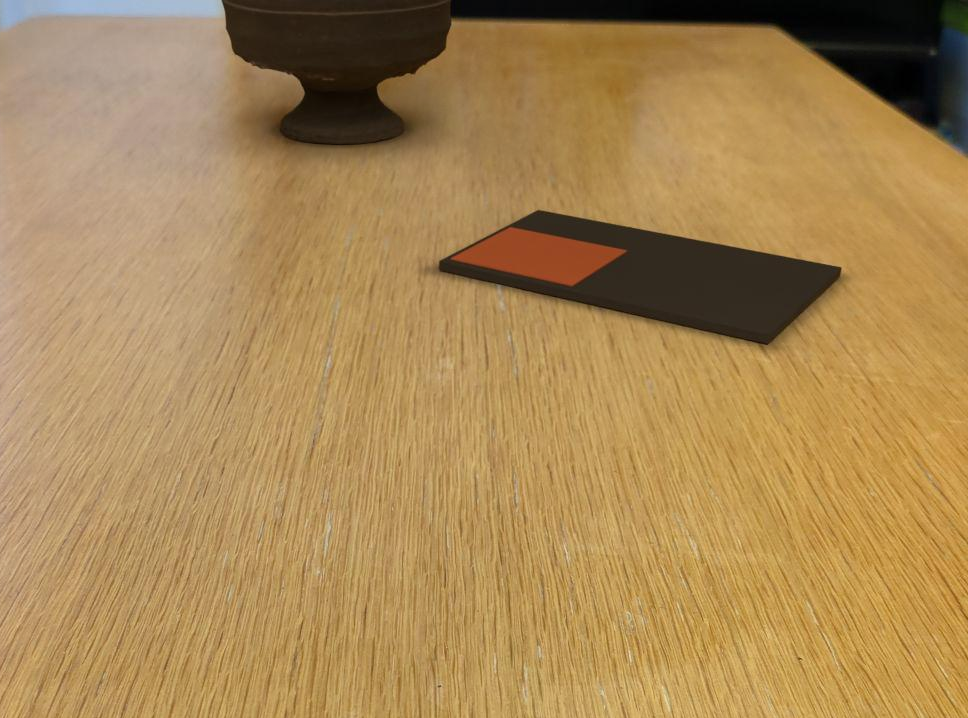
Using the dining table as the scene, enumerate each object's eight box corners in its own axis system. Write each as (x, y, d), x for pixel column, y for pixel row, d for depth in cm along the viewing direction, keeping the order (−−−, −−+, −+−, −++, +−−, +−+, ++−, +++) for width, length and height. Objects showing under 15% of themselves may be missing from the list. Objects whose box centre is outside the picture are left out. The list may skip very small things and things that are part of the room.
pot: (213, 152, 91) (198, -156, 82) (240, 118, 107) (230, -142, 98) (452, 157, 91) (462, -147, 82) (443, 123, 107) (451, -135, 98)
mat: (840, 276, 70) (842, 265, 70) (768, 344, 62) (770, 332, 61) (537, 218, 79) (538, 207, 79) (438, 270, 71) (438, 258, 71)
